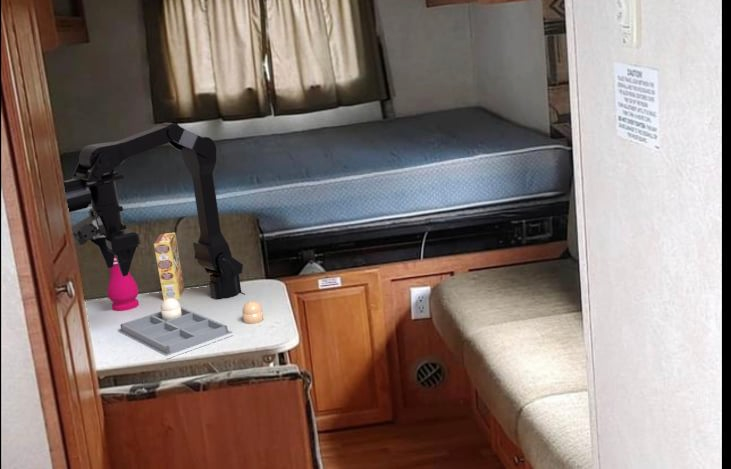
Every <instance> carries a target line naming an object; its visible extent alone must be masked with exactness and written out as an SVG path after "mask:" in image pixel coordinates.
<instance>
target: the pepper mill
mask: <svg viewBox="0 0 731 469" xmlns="http://www.w3.org/2000/svg"><path fill="white" fill-rule="evenodd" d="M109 271H110V276H109V282H108V285H107V298H108V299H109V300H110V301H111V302H113V303H111V309H112V311H114V312H125V311H130V310H133V309H137V307H138V306H139V305H140V303H139V300H138V299H137V297H138V295H139V292H140V289H139V286H138V284H137V282H136V281H135V278H133V276H132V275H131V272H130V271H129V273H128V275H127V276H122V273H121V271H120V268H119V265H118V262H117V259H116V256H115V255H114V263H113V267H111V268H109Z"/></svg>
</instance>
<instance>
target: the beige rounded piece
mask: <svg viewBox="0 0 731 469" xmlns="http://www.w3.org/2000/svg"><path fill="white" fill-rule="evenodd" d="M242 318H243V319H242V320H243V323H244V324H245V325H255V324H260V323H262V322H263V321H264V313H263V307H262V306H261V304H260V303H259V302H257V301H254V300H251V301H250V300H249V301H248V302H246V303H245V304H244V305H243V307H242ZM260 326H262V325H259V327H260Z"/></svg>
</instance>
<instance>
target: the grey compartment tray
mask: <svg viewBox="0 0 731 469" xmlns="http://www.w3.org/2000/svg"><path fill="white" fill-rule="evenodd" d="M181 312H182V316H180V317H177V318H174V319H171V320H168V321H164V320H163V319H162V313H161V311H159V312H155V313H151V314H148V315H145V316H142V317H139V318H135V319H134V320H130V321H126V322H124V323H121V324H120V325H119V326H120V329H119V330H117V332H118V333H120V334H122V335H124V336H125V337H128V338H129V339H132V340H133V341H136V342H137V343H139V344H142V345H144V346H145V347H148V348H150V349H151V350H153V351H155V352H156V353H160V354H161V355H163V356H165V357H167V356H170V355H172V354H173V355H174V354H176V353H179V352H182V351H185V350H187V349H190V348H193V347H196V346H199V345H201V344H204V343H207V342H210V341H213V340H216V339H218V340H217V342H219V341H222V340H226V339H228V338H230V337H234V335H230V334H232V333H233V331H230V330H229V328H228V326H227V324H223V323H221V322H218V321H215V320H214V319H211V318H209V317H206V316H204V315H202V314H199V313H197V312H194V311H192V310H189V309H187V308H185V307H183V306H181ZM227 335H230V336H227ZM224 336H227V337H225V338H222V339H219V338H221V337H224ZM211 343H212V344H214V343H215V341H213V342H211ZM211 343H207V344H205V345H202V346H199V347H197V348H194V349H192V350H187V351H186V352H182V353H179V354H177V355H175V356H171V357H169V358H167V360H170V359H172V358H176V357H177V356H180V355H183V354H186V353H189V352H193V351H194V350H197V349H200V348H202V347H203V348H204V347H205V346H208V345H211Z"/></svg>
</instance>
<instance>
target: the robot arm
mask: <svg viewBox="0 0 731 469" xmlns="http://www.w3.org/2000/svg"><path fill="white" fill-rule="evenodd" d="M166 144H169V145H170V146H171V147H173V148H174V149H176V150H178V151H179V152H180V154H181V157H182V160H183V163H184V166H185V167H186V168H187V171H189V172H188V173H190V175H191V178H192V185H193V192H194V198H195V205H196V212H197V218H198V225H199V231H200V234H199V238H198V241H196V242H193V244H192V246H193V250H194V259H195V260H197V262H198V265H200V266H201V267H202V268H203V269H204V271H205V273H207V274H210V275H209V279H210V281H209V282H208V284H209V289H210V290H209V292H210V298H211V299H214V300H216V301H217V300H223V299H231V298H234V297H236V296H238V295H239V294H241V295H244V296H246V293H244V292H242V287H241V278H240V275H241V274H242V273H243V268H244V265H243V264H242V263H241V262H240V261H238V260H237V259H235V257H233V254H232V251H231V249H230V244H229V243H228V241H227V239H226V238H225V236H224V235H223V231H222V228H221V221H220V216H219V215H220V214H219V207H218V202H217V201H218V200H217V195H216V188H215V180H214V172H215V167H216V166H217V160H218V159H217V158H218V156H217V154H218V153H217V152H218V150H217V149H218V147H217V143H216V142H215V140H213V139H212V138H210V137H208V136H200V135H198V134H196V133H194V132H191V131H190V130H188V129H185V128H183V127H182V126H180V125H179V124H177V123H172V122H163V123H160V124H159V125H158V126H155V127H153V128H150V129H149V128H148V129H146V130H145V131H141V132H138V133H136V134H133V135H130V136H128V137H125V138H123V139H120V140H117V141H109V142H101V143H94V144H88V145H86V146H84V147H82V149H80V153H79V154H78V163H77V164H76V167H75V169H74V170H73V174H72V175H71V179H67V180H63V181H64V186H65V192H66V198H67V203H68V208H69V213H72V212H76V211H80V210H81V211H82V210H83V209H84V210H85V209H88V207H89V206H91V208H89V210H88V216H87V217H86V218H85V219H83V220H81V221H78V222H77V223H76V224H74V225H73V226H71V227H72V231H73V237H74V240H73V241H74V243H75V244H78V245H79V246H83V245H85V244H86V243H87V242H88V241H90V242H91V243H92V244H94V245H96V246H97V248H98V250H99V253H100V255H101V256H102V259H103V261H104V262H105V265H106V267H107V268H108V269H110V268H111V267H113V263H114V255H115V256H116V259H117V262H118V265H119V268H120V271H121V273H122V276H127V275H128V273H129V272H130V269H131V265H132V261H133V259H134V256H135V253H136V250H137V248H138V247H139V245H140V244H141V241H140V235H139V234H138V233H136V232H135V231H132V230H130V229H127V224H125V223H123V219H122V214H121V212H123V211H124V207H123V206H122V205H120V202H119V196H118V192H117V186H116V182H115V181H118V180H119V181H120V180H122V179H123V180H124V175H123V174H121V173H120V172H118V170H116V168H118V167H120V166H121V165H122V164H123V163H124V162H125V161H127V160H128V159H129V158H131V157H134V156H137V155H140V154H142V153H145V152H148V151H150V150H153V149H156V148H158V147H161V146H163V145H166ZM88 172H89V173H88Z"/></svg>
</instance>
